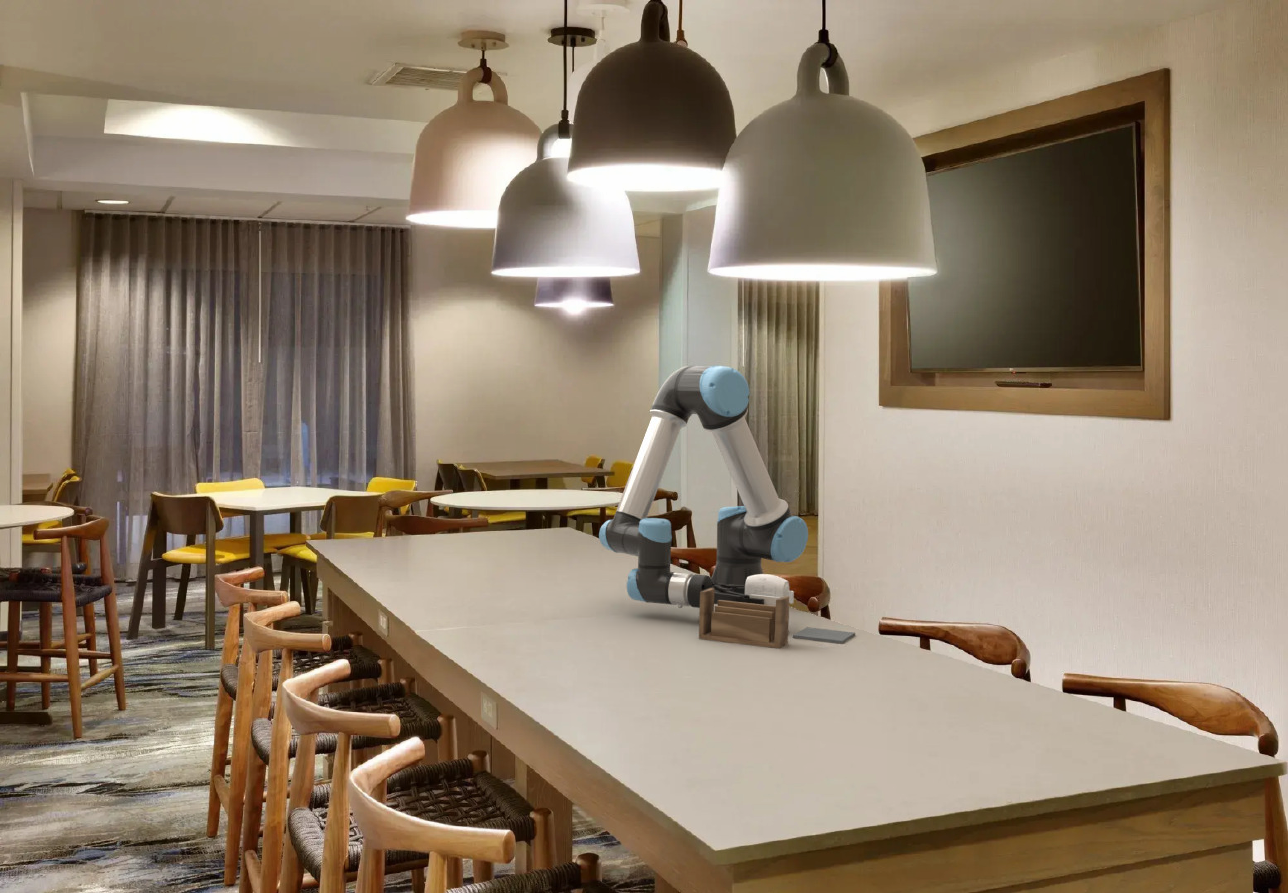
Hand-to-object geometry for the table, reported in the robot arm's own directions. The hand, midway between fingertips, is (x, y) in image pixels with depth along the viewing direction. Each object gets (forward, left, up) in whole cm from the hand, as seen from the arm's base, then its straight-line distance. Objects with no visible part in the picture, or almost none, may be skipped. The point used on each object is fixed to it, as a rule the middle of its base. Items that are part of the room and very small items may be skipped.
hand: (786, 600), depth 264 cm
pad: (0, +9, -7) cm, 11 cm away
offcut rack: (+14, -5, -7) cm, 16 cm away
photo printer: (0, -5, -7) cm, 9 cm away
